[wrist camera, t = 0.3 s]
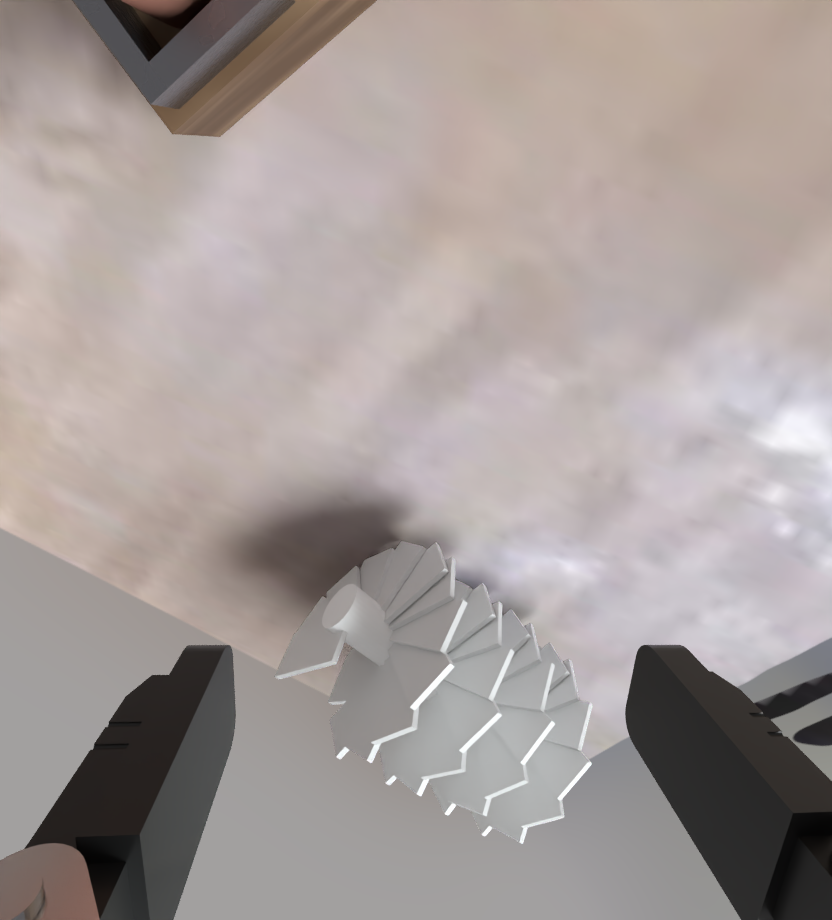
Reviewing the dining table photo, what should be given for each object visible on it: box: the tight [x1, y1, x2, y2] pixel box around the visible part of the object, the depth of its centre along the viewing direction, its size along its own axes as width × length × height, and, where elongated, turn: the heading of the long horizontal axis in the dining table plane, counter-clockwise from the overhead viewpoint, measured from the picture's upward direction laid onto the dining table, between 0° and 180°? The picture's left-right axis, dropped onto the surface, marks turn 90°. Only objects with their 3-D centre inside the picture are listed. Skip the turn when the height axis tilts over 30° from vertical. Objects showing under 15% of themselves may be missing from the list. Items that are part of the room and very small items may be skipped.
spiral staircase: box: [274, 541, 593, 844], centre depth 44 cm, size 18×18×25 cm
